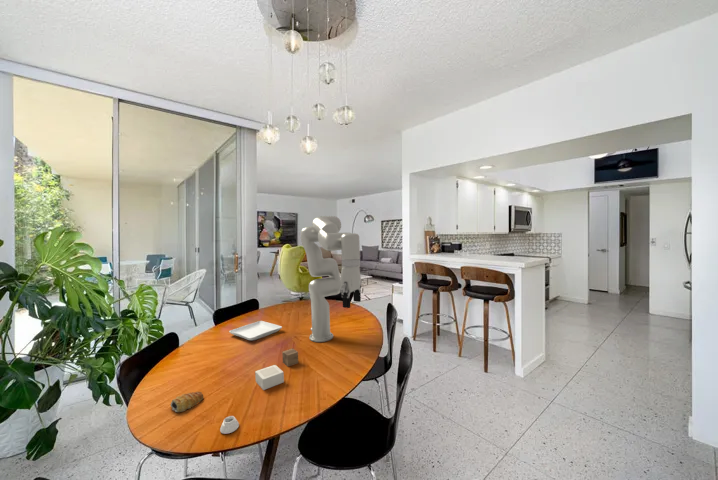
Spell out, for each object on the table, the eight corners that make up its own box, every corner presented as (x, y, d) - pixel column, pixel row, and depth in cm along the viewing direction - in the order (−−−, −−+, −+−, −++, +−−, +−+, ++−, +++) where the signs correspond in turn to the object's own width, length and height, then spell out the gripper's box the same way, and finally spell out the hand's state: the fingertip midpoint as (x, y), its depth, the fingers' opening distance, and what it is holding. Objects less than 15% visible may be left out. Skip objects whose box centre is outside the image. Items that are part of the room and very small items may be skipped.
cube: (282, 362, 125) (282, 351, 125) (293, 359, 129) (292, 348, 128) (287, 366, 122) (287, 355, 121) (298, 363, 125) (297, 351, 124)
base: (255, 381, 110) (255, 371, 110) (275, 374, 115) (275, 364, 115) (263, 390, 104) (262, 379, 104) (283, 382, 109) (283, 371, 109)
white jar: (216, 434, 83) (232, 435, 82) (216, 424, 83) (231, 425, 82) (227, 422, 88) (242, 424, 87) (226, 413, 87) (241, 414, 87)
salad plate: (260, 325, 176) (260, 319, 176) (283, 331, 164) (283, 326, 164) (228, 336, 159) (227, 330, 159) (250, 344, 147) (250, 338, 146)
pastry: (197, 394, 103) (197, 384, 103) (207, 400, 99) (207, 390, 99) (168, 408, 95) (168, 397, 95) (178, 416, 91) (177, 404, 91)
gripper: (352, 260, 127) (353, 298, 128) (332, 266, 111) (333, 309, 112) (367, 261, 124) (368, 300, 124) (349, 266, 108) (350, 311, 109)
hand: (352, 304), depth 118 cm, fingers open, 9 cm apart
